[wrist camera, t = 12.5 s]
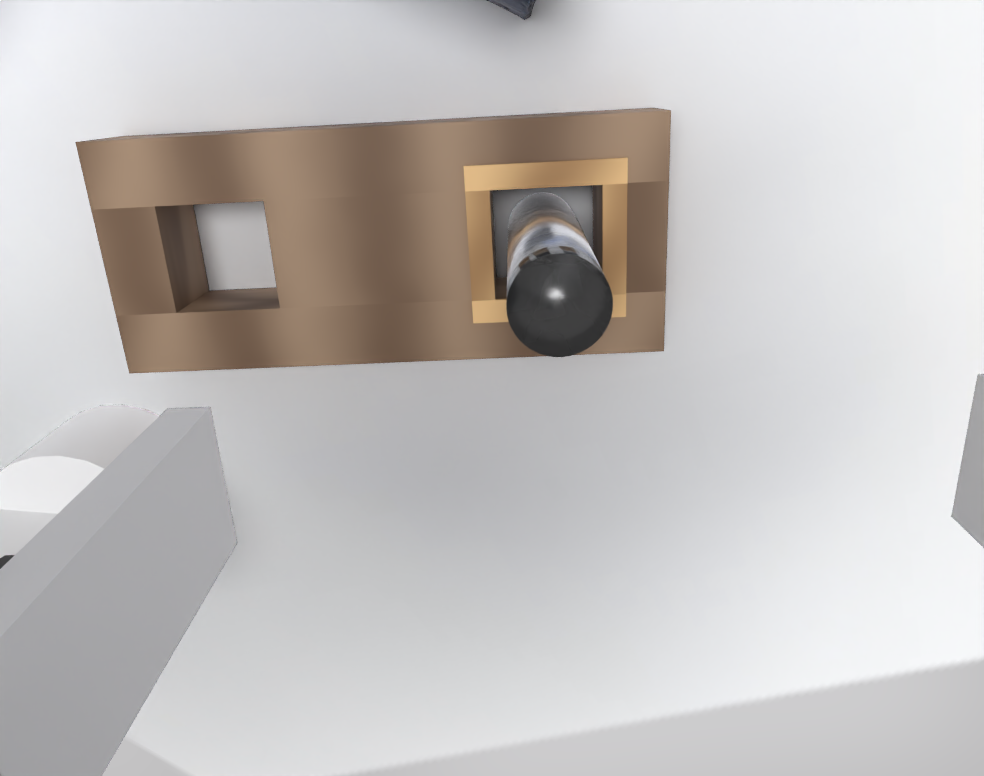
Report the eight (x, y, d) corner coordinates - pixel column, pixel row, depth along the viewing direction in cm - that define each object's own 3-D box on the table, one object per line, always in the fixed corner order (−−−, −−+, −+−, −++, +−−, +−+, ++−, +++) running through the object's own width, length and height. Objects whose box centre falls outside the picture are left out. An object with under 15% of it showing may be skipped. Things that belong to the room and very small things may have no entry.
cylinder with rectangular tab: (57, 546, 43) (-100, 706, 32) (35, 397, 40) (-149, 517, 29) (218, 559, 44) (117, 722, 32) (209, 411, 40) (93, 536, 29)
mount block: (165, 345, 39) (127, 374, 35) (121, 136, 35) (72, 142, 31) (648, 325, 38) (664, 352, 34) (653, 107, 34) (671, 110, 31)
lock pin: (509, 262, 37) (508, 359, 24) (506, 194, 36) (503, 256, 23) (576, 259, 37) (612, 354, 24) (575, 190, 36) (613, 250, 23)
